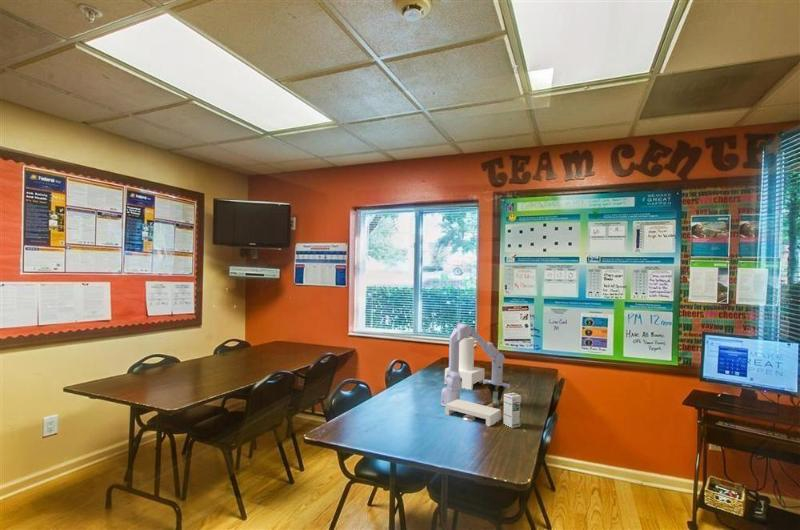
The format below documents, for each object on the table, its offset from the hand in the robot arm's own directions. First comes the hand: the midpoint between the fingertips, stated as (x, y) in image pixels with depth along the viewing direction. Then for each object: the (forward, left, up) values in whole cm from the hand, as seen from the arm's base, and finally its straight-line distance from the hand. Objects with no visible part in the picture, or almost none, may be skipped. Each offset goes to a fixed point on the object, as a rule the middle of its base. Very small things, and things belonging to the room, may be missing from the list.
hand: (496, 398), depth 222 cm
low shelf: (0, -27, -3) cm, 28 cm away
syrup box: (+19, -24, -3) cm, 31 cm away
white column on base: (-33, +25, -3) cm, 41 cm away
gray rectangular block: (0, -9, -3) cm, 10 cm away
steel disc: (0, -31, -3) cm, 32 cm away
